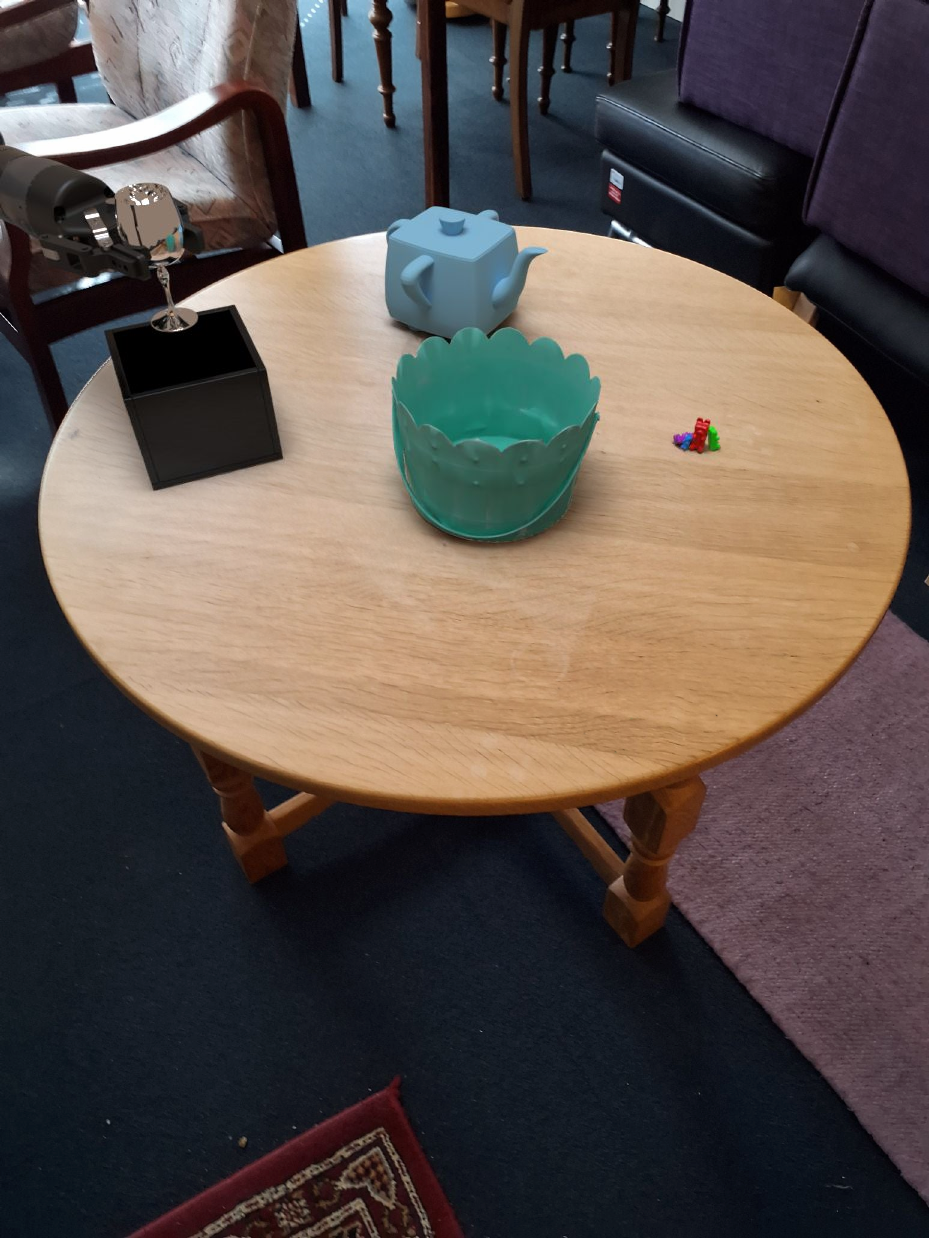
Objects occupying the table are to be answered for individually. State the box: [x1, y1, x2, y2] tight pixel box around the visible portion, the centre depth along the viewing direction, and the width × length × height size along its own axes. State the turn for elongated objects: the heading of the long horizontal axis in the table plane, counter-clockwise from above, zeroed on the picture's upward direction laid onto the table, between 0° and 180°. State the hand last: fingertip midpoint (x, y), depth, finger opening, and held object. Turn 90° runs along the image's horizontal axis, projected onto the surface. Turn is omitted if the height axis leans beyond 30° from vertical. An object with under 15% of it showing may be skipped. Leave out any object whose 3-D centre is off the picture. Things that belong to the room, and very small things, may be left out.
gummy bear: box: [672, 417, 721, 453], centre depth 94 cm, size 5×3×4 cm, turn 65°
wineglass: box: [115, 182, 198, 332], centre depth 82 cm, size 6×6×12 cm
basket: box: [390, 327, 602, 544], centre depth 86 cm, size 19×18×13 cm
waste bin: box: [103, 304, 284, 491], centre depth 93 cm, size 14×14×11 cm
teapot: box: [384, 206, 549, 341], centre depth 109 cm, size 18×16×14 cm
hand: (173, 255), depth 80 cm, fingers closed on wineglass, 5 cm apart
